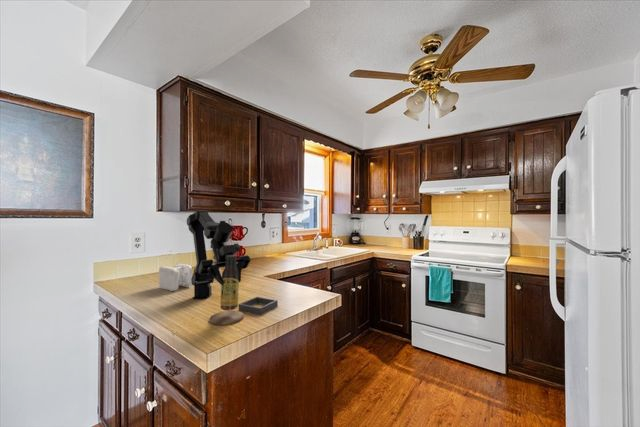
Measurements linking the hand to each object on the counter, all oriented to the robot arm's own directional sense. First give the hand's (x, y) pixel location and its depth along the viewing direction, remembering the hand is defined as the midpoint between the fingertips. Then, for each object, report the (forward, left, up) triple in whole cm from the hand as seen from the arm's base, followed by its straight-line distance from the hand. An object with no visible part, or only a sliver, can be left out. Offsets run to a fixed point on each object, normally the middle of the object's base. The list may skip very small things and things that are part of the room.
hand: (231, 283), depth 102 cm
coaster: (-2, 0, -13) cm, 13 cm away
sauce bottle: (-1, +1, -10) cm, 10 cm away
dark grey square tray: (+8, +11, -13) cm, 19 cm away
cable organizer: (-42, +42, -14) cm, 60 cm away
